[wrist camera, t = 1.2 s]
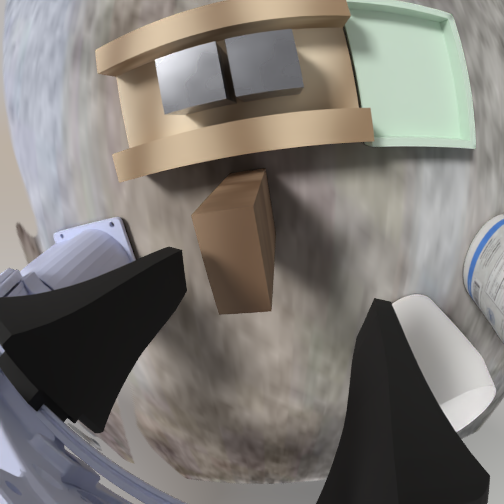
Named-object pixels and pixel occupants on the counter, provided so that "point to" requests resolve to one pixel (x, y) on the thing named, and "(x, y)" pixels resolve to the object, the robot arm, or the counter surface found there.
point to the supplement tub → (487, 272)
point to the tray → (410, 74)
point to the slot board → (242, 113)
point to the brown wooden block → (238, 242)
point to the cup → (446, 360)
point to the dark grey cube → (264, 65)
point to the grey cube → (195, 80)
